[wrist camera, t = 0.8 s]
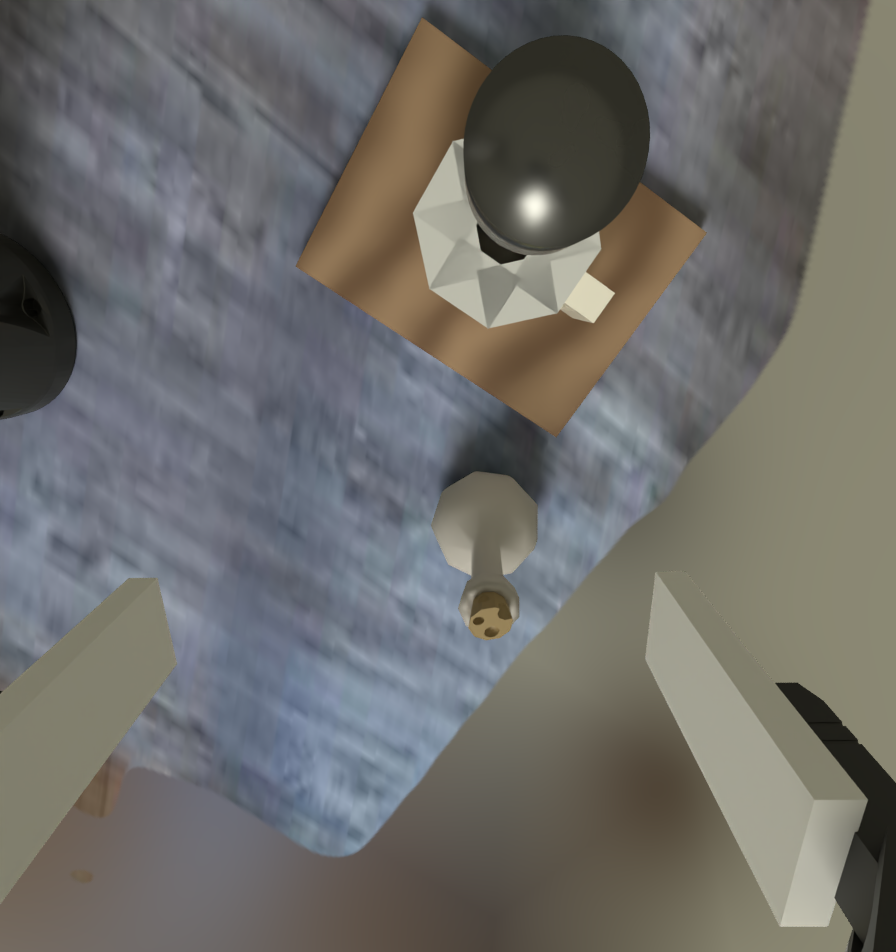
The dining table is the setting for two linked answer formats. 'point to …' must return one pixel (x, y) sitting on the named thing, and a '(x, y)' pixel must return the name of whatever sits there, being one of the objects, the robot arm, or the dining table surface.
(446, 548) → the potion bottle
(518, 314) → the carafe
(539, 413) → the board
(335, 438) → the dining table surface
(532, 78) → the plunger
